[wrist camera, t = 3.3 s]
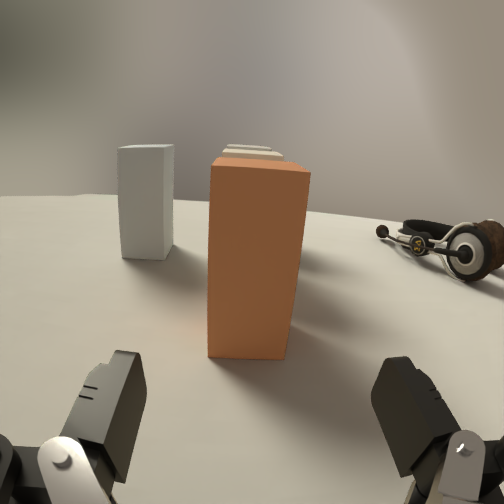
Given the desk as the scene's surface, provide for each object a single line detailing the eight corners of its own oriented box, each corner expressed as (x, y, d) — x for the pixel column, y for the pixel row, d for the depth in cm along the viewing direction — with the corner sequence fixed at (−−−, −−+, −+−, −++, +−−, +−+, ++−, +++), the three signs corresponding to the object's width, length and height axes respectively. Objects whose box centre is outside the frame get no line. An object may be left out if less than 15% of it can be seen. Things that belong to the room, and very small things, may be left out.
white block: (122, 257, 33) (117, 148, 28) (135, 242, 37) (133, 145, 33) (164, 260, 33) (164, 147, 29) (173, 244, 38) (174, 144, 33)
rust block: (207, 357, 20) (211, 165, 15) (212, 315, 24) (218, 157, 20) (284, 359, 20) (310, 172, 15) (276, 318, 24) (294, 162, 20)
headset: (489, 230, 26) (361, 205, 43) (477, 297, 28) (358, 257, 45) (518, 223, 34) (420, 204, 51) (510, 272, 36) (416, 245, 53)
